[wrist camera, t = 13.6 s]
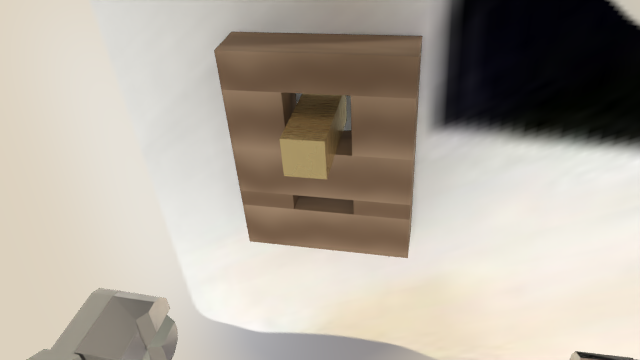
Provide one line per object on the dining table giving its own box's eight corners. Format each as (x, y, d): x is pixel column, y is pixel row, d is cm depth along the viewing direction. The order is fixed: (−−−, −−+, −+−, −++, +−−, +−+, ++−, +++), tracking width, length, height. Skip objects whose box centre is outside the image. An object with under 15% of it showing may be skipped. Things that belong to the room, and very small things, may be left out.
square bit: (307, 83, 40) (279, 138, 34) (345, 85, 40) (324, 141, 34) (310, 117, 42) (283, 176, 36) (346, 119, 42) (326, 179, 35)
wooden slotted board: (231, 31, 39) (214, 50, 36) (422, 36, 36) (418, 56, 34) (261, 216, 50) (249, 241, 47) (410, 230, 47) (407, 258, 44)
